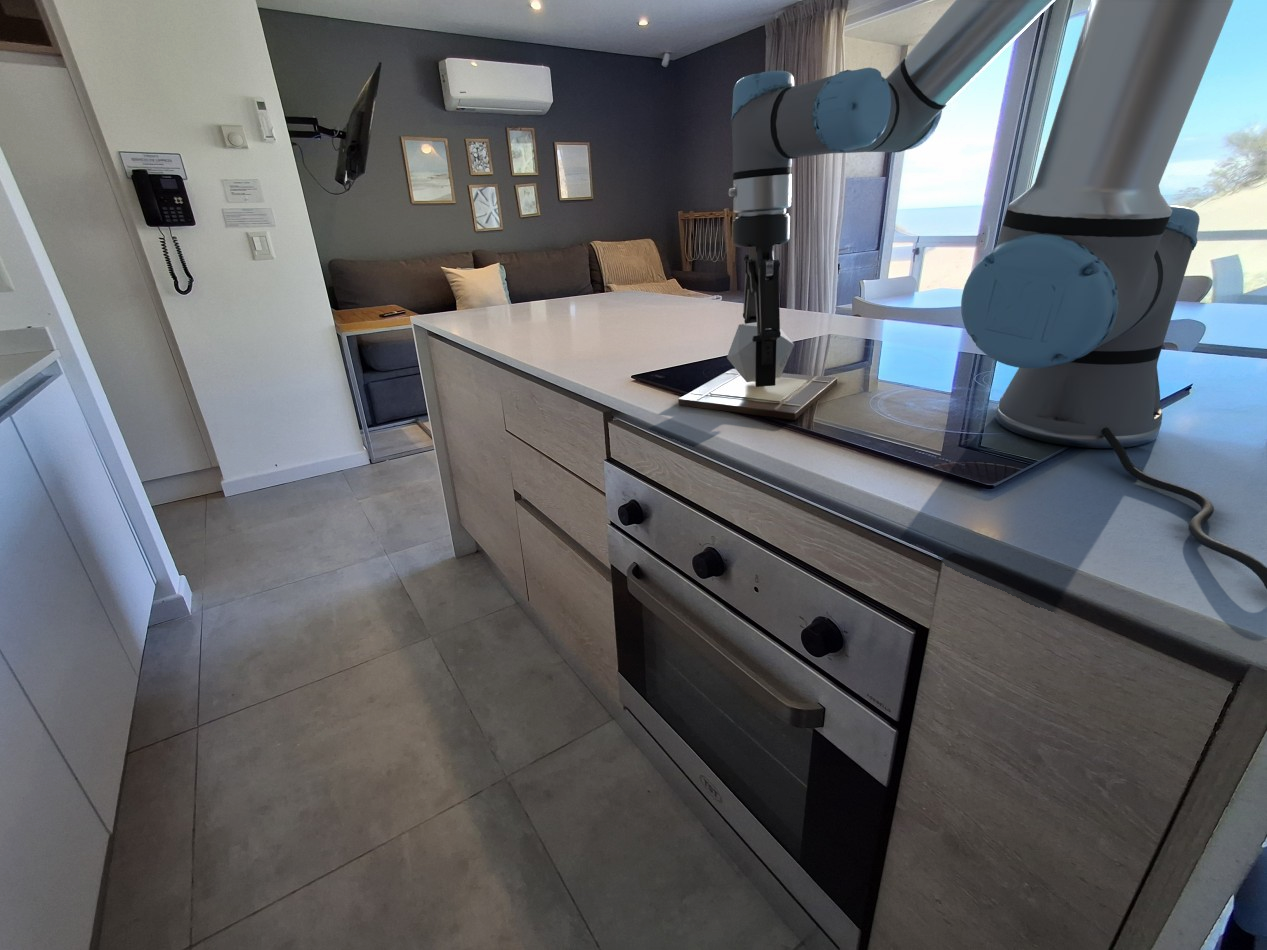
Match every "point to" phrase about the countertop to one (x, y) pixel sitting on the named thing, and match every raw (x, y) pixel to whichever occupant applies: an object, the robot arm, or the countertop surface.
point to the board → (760, 395)
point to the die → (745, 351)
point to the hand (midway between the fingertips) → (759, 376)
